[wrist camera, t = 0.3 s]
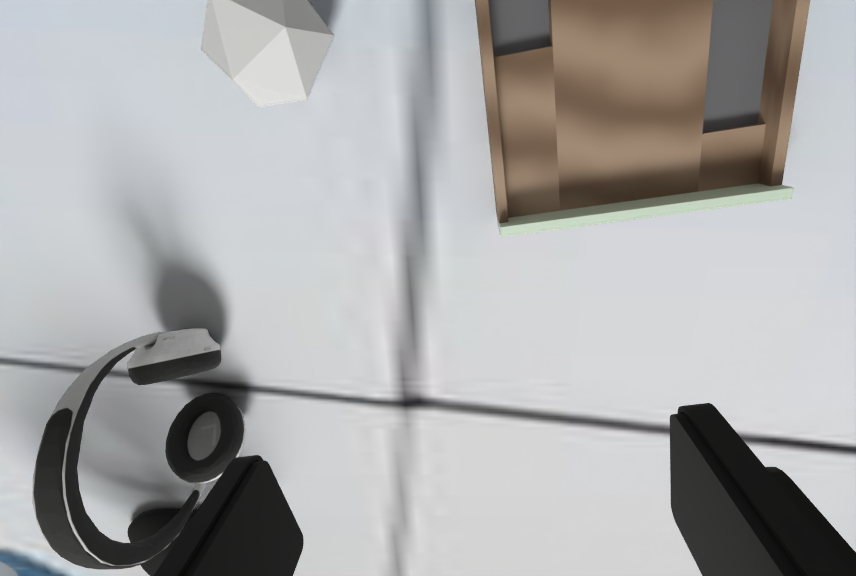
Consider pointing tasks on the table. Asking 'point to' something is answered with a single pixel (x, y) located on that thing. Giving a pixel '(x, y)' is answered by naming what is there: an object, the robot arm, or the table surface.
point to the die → (267, 46)
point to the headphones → (185, 450)
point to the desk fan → (149, 526)
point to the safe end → (645, 208)
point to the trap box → (628, 106)
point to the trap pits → (727, 64)
